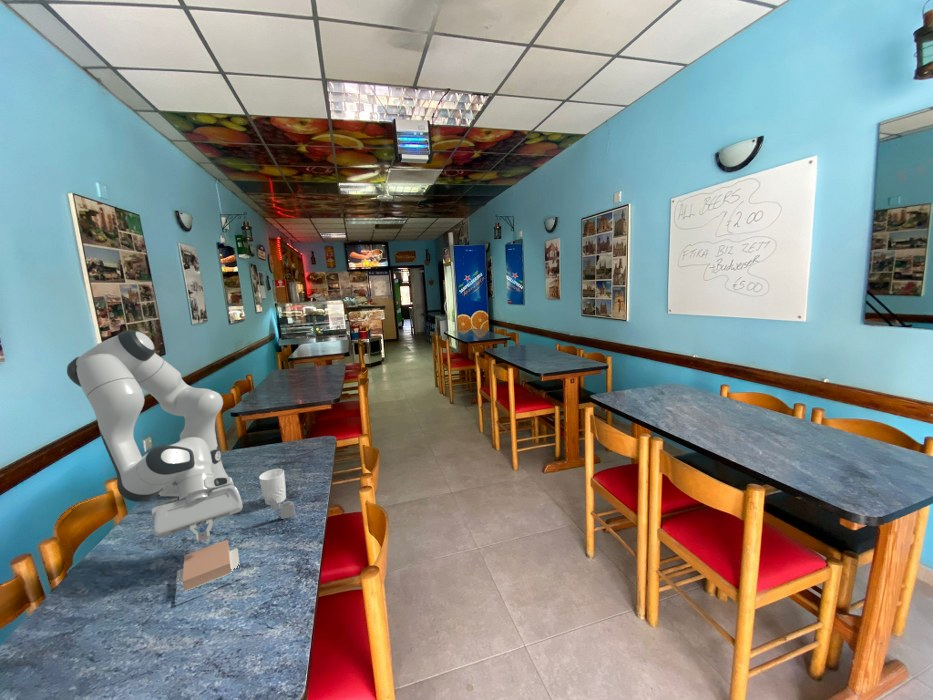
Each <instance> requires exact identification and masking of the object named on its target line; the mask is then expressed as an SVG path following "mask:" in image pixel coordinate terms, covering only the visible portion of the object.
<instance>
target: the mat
mask: <svg viewBox="0 0 933 700" xmlns="http://www.w3.org/2000/svg"><path fill="white" fill-rule="evenodd" d="M229 552H230V562H231V569H232V571H233V569H234V568H235V569H236V568H237V566H238V564H239V565H240V566H241V564H240V563H239V562H240V556H239V549H238V548H234V549H231V550H229ZM238 568H239V566H238ZM179 570H180V572H179ZM179 575H180V577H179ZM178 578H179V581H181V582H182V581H183V568H181V569H178V570H177V571H176V580H175V587H176V586H177V585H176V584H177V582H179V581H177V579H178ZM181 578H182V580H181ZM181 582H180V583H181Z"/></svg>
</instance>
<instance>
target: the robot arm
mask: <svg viewBox="0 0 933 700" xmlns="http://www.w3.org/2000/svg"><path fill="white" fill-rule="evenodd" d="M155 352H156V345H155V344H154V342H153V341H152V340H151V338H150V337H149V336H148V335H147V334H145V333H144V332H142V331H140V330H135V329H128V330H124V331H121V332H119V333H118V334H117V335H115V336H112V337H110V338H107V339H106V340H103V341H101V342H100V343H98V344H96V345H95V346H94V347H92V348H90V349H88V350H87V351H86V352H84V353H83V354H82V355H80V356H76V357H75V358H74V359H72V360H71V361H70V362H69V363H68V365H67V366H66V367H67V368H66V374H67V376H68V378H69V379H70V380H71V382H73V383H74V384H75V385H77V386H78V387H80V388H82V391H83V393H84V395H85V397H86V398H87V400H88V402H89V403H90V406H91V408H92V410H93V412H94V415H95V417H96V421H97V424H98V429H99V434H100V437H101V439H102V443H103V444H104V447H105V449H106V452H107V454H108V457H109V459H110V461H111V463H112V466H113V468H114V471H115V473H116V485H117V486H116V487H117V491H118V492H119V494H120V496H122V498H124V499H126V500H129V501H131V502H138V503H140V502H141V503H142V502H143V503H144V502H147V501H150V500H153V499H155V497H156V496H157V495H158V496H159V495H160V496H159V497H172V498H170V499H166V500H162V501H159V502H157V504H155V505H154V506H153V507H152V509H151V518H152V519H153V534H154V536H155V537H156V538H159V539H160V538H164V537H167V536H170V535H174V534H176V533H179V532H182V531H185V530H188V529H189V530H190V532H191V533H192V534H193V535H194V536H195V537H196V539H195V540H196V542H197V543H199V542H202V541H205V540H209V539H210V538H211V534H210V532H211V530H212V527H213V526H214V521H216V520H219V519H222V518H224V517H227V516H232V515H234V514H237V513H241V511H242V510H243V507H244V506H243V502H242V497H241V495H240V492H239V490H238V488H237V487H236V486H235V484H234V480H233V478H232V477H230V476H229V475H228V474H227V472H226V470H225V468H224V466H223V462H222V455H221V449H220V445H219V444H218V441H217V435H216V420H217V415H218V413H220V412H221V410H222V409H223V405H224V400H223V399H224V398H223V396H222V395H221V394H220V393H219V392H218V391H214V390H212V389H211V388H210V389H209V388H203V387H202V388H201V387H194V386H191V385H189V384H187V383H186V382H185V381H184V380H183V378H182V374H181V372H180V370H178V369H176V368H175V367H174V366H173V365H171V364H170V363H169V362H168V361H166V360H165V359H164V358H162V357H161V356H160V355H158V354H157V353H155ZM143 390H144V391H145V392H147V393H148V394H149V395H151V396H152V397H154V399H155V400H156V401H157V402H158V403H159V404H160V408H161V409H162V411H165V412H166V413H168V414H170V415H173V416H176V417H177V416H178V417H184V428H183V430H182V431H181V432H180V434H179V441H177V442H175V443H171V444H169V445H167V444H164V445H161V444H160V445H158V446H155V447H154V448H153V447H152V448H151V449H150V450H149V451H147V453H146V454H144V455H143V456H142V454H141V451H140V449H139V446H138V445H137V442H136V441H135V437H134V432H135V431H134V430H135V426H136V423H137V421H138V418H139V416H140V414H141V412H142V410H143V407H144V405H145V394H144V392H143ZM203 524H206V525H207V527H206V529H205V530H204V531H202V532H198V531H197V530H198V526H201V525H203Z"/></svg>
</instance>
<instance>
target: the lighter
mask: <svg viewBox="0 0 933 700" xmlns="http://www.w3.org/2000/svg"><path fill="white" fill-rule="evenodd" d="M268 503H269V504H270V505H269V506H271V507H272V508H273V510H274V511H277V510H279V513H280V519H284V518H288V519H290V518H289V517H291V518H294V517H293V516H295V517H296V511H295V504H294V501H290V500H287V501H283V502H282V504H280V503H279V504H278V503H277V502H276V501H275V500H274V499H273V498H272V497H271V498H270V499H268ZM284 520H285V519H284Z"/></svg>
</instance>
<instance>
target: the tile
mask: <svg viewBox="0 0 933 700" xmlns="http://www.w3.org/2000/svg"><path fill="white" fill-rule="evenodd" d="M229 551H230V546H229V541H228V539H225V540H223V541H219V542H217V543H215V544H211V545H209V546H206V547H203V548H200V549H197V550H194V551H192V552H189V553H186V554H184V557H183V558H184V559H183V568H182V569H183V581H182V582H183V587H184V591H185V592H186V591H188V590H190V589H193V588H195V587H198V586H201V585H203V584H206V583H208V582H211V581H214V580H216V579H219V578H221V577H224V576H226V575H228V574H231V573H232V572H231V562H230V552H229Z"/></svg>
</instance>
